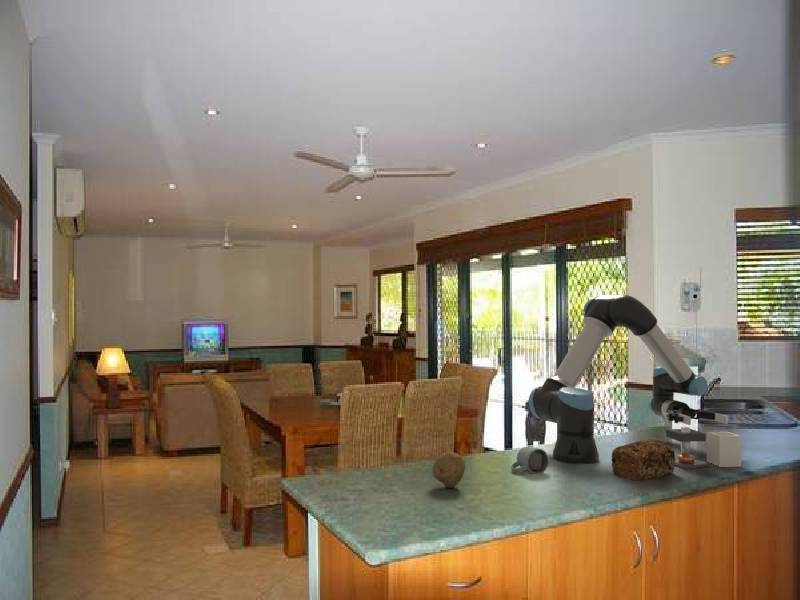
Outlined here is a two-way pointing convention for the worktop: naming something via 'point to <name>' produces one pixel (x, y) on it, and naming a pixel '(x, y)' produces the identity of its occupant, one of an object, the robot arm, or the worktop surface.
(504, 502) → the worktop surface
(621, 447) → the bread
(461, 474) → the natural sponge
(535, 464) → the ceramic mug
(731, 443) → the sleeve
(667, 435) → the dark grey square slab
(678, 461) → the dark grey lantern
